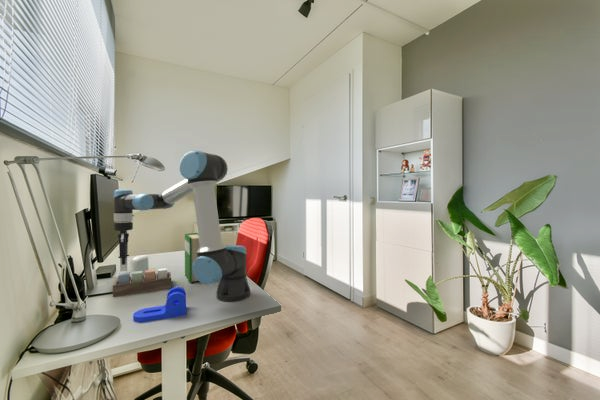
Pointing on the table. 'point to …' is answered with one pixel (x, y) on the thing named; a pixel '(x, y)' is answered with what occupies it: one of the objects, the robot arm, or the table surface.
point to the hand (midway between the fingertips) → (123, 270)
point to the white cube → (162, 273)
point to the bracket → (164, 307)
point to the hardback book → (191, 254)
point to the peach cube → (149, 275)
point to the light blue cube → (123, 278)
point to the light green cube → (137, 276)
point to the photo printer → (139, 264)
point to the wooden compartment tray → (141, 285)
